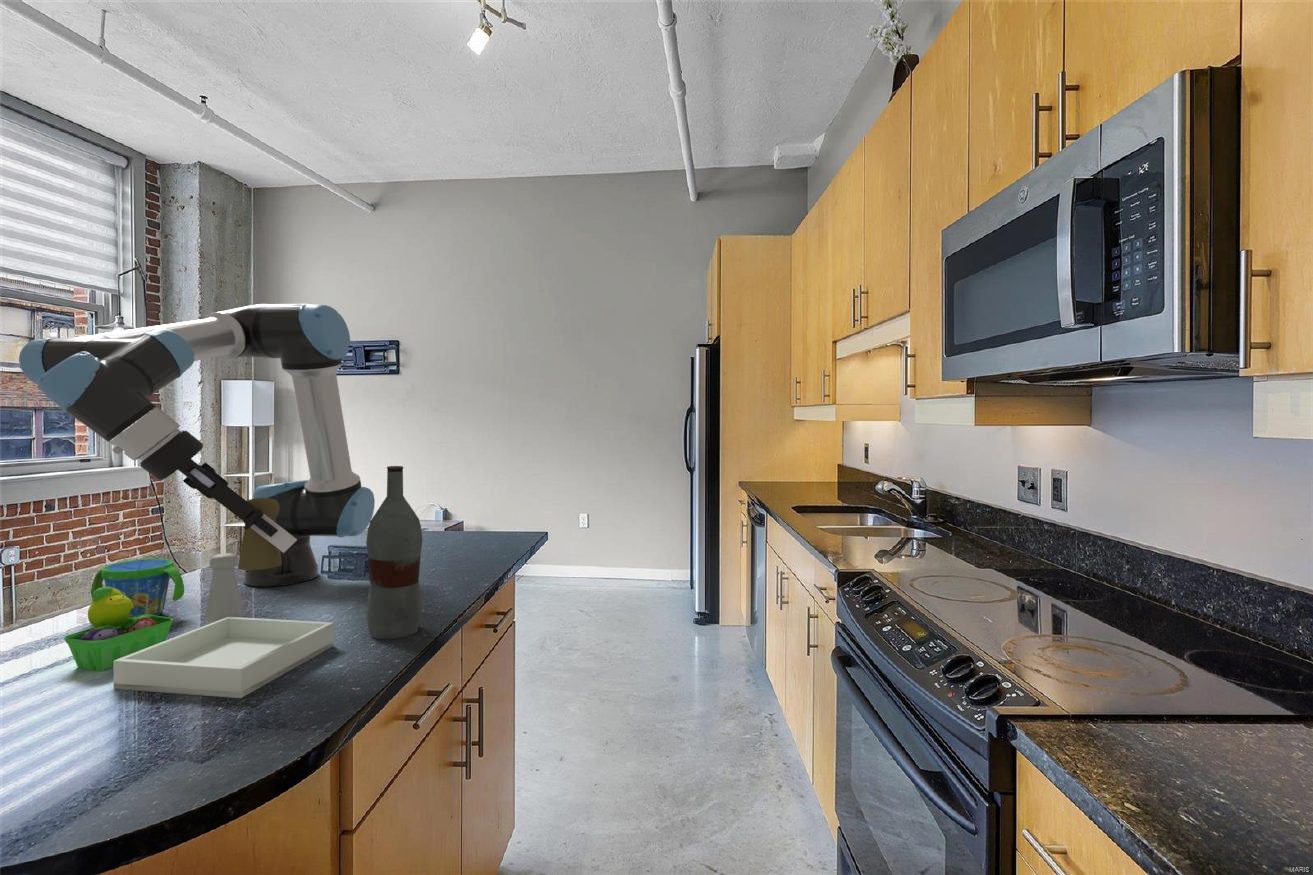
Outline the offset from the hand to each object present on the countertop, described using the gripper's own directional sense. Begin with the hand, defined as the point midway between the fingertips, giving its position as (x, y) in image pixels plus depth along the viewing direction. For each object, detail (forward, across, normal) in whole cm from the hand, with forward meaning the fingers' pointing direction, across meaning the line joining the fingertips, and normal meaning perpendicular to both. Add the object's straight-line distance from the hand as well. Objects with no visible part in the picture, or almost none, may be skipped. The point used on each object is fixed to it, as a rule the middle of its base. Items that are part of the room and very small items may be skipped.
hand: (286, 543), depth 101 cm
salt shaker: (+8, -21, -17) cm, 28 cm away
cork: (0, 0, -5) cm, 5 cm away
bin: (+7, +3, -18) cm, 19 cm away
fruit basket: (-2, -11, -28) cm, 30 cm away
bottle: (+24, +3, -1) cm, 24 cm away
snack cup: (-1, -35, -26) cm, 44 cm away
